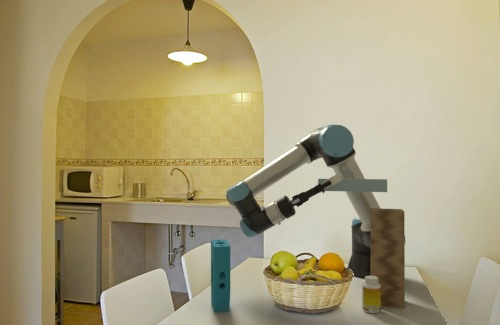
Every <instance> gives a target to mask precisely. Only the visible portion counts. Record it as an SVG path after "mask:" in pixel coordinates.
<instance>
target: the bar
mask: <svg viewBox="0 0 500 325" xmlns="http://www.w3.org/2000/svg"><path fill="white" fill-rule="evenodd" d="M327 179H328V178H317V185H318V184H321V183H322V182H324V181H325V180H327ZM341 180H342V181H341V182H339V183H337V184H335V185H333V186H331V187H330V188H328V189H326V190H324V191H325V192H345V191H352V192H372V193H388V179H386V178H383V179H382V178H380V179H377V178H375V179H374V178H365V179H341Z"/></svg>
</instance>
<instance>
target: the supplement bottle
mask: <svg viewBox="0 0 500 325" xmlns="http://www.w3.org/2000/svg"><path fill="white" fill-rule="evenodd" d="M361 284H362V285H361V309H362V310H363V312H365V313H367V314H368V313H369V314H379V313H381V311H382V306H381V285H380V284H379V283H378V277H376V276H365V278H364V282H362V283H361Z"/></svg>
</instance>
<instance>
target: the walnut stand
mask: <svg viewBox="0 0 500 325" xmlns="http://www.w3.org/2000/svg"><path fill="white" fill-rule="evenodd" d="M405 240H406V236H405V210H403V209H402V208H381V209H379V208H371V276H376V277H378V283H379V284H380V285H381V307H389V308H397V307H398V308H399V309H406V308H405V307H406V306H405V305H406V304H405V298H406V297H405V295H406V294H405V292H406V291H405V290H406V289H405V288H406V287H405V285H406V283H405V282H406V281H405V270H406V269H405V265H406V264H405V253H406V251H405V247H406V246H405V245H406V241H405Z"/></svg>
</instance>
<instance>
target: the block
mask: <svg viewBox="0 0 500 325" xmlns="http://www.w3.org/2000/svg"><path fill="white" fill-rule="evenodd" d="M210 296H211V297H210V300H211V301H210V302H211V306H212V310H213V312H215V313H216V312H217V313H218V312H219V313H220V312H229V311H230V309H231V308H230V307H231V306H230V305H231V245H230V243H229V242H228V240H227V239H210Z"/></svg>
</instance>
